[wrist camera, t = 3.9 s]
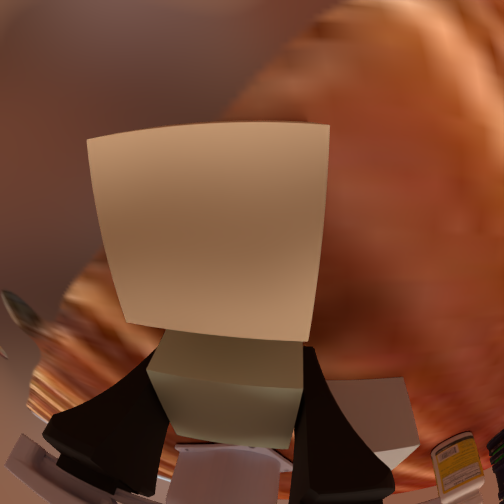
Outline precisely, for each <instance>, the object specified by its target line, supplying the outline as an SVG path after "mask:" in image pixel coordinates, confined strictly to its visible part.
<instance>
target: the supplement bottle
mask: <svg viewBox="0 0 504 504" xmlns="http://www.w3.org/2000/svg"><path fill="white" fill-rule="evenodd" d="M431 458H432V463H433V468H434V473H435V478H436V483H437V489H438V495H439V497H440V498H441V503H442V504H481V503H483V499H482V495H481V493H479V488H480V487H481V486H482V485H483V484H484V481H485V478H484V473H483V469H482V465H481V461H480V457H479V454H478V450H477V447H476V444H475V440H474V437H473V435H472V433H471V432H465V433H461V434H458V435H456V436H454V437H452V438H450V439H448V440H446V441H444V442H442V443H441V444H439V445H438V446H437V447H436V448H435V449H434V450H433V451H432V453H431Z"/></svg>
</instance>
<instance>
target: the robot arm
mask: <svg viewBox="0 0 504 504" xmlns="http://www.w3.org/2000/svg"><path fill="white" fill-rule="evenodd" d="M156 349H157V348H156ZM156 349H155V350H154V351H153V352H152V353H151V354H150V355H149V356H148V357H146V358H145V359H144V360H143V361H142V362H141V363H140V364H139V365H138V366H137V367H136V368H135V369H133V370H132V371H131V372H130V373H129V374H128V375H126V376H125V377H124V378H123V379H121V380H120V381H119V382H117V383H116V384H115V385H113V386H112V387H110V388H109V389H107V390H106V391H104V392H103V393H101V394H99V395H98V396H96V397H94V398H93V399H91V400H89V401H87V402H85V403H83V404H81V405H78V406H76V407H74V408H71V409H69V410H66V411H63V412H60V413H57V414H54V415H53V416H52V418H51V419H50V421H49V423H48V424H47V426H46V428H45V430H44V431H43V433H42V435H43V437H44V439H45V440H46V441H47V442H48V443H50V444H51V445H52V446H53V447H54V448H55V449H56V450H58V451H59V452H60V453H61V455H60V457H59V459H58V458H56V457H54V456H53V455H51V454H49V453H48V452H46V451H45V449H43V448H42V447H41V446H40V445H38V444H37V443H36V442H34V441H33V440H31V439H30V438H28V437H27V436H26V435H24V434H21V435H20V437H19V439H18V441H17V443H16V444H15V446H14V448H13V450H12V452H11V454H10V456H9V457H8V459H7V461H6V463H5V467H6V468H7V469H8V470H9V471H10V472H11V473H12V474H14V475H15V476H16V477H17V478H18V479H20V480H21V481H22V482H23V483H24V484H25V485H27V486H28V487H29V488H30V489H32V490H33V491H34V492H35V493H36V494H38V495H39V496H40V497H42V498H43V499H44V500H46V501H47V502H48V503H50V504H117V502H116V501H118V502H120V503H122V504H162V503H158V502H155V501H152V500H149V499H146V498H143V497H140V496H137V495H134V494H132V493H135V494H140V495H143V496H146V497H150V496H153V495H154V494H155V487H156V481H157V474H158V468H159V463H160V457H161V453H162V448H163V444H164V440H165V436H166V432H167V428H168V425H169V422H170V421H169V419H168V417H167V415H166V413H165V411H164V409H163V406H162V404H161V402H160V400H159V398H158V396H157V394H156V391H155V389H154V387H153V385H152V382H151V380H150V378H149V376H148V373H147V371H146V369H147V367H148V365H149V363H150V361H151V359H152V357H153V355H154V353H155V351H156ZM294 434H295V445H294V458H293V464H292V463H291V462H289V461H288V460H286V459H285V458H284V457H282V456H281V455H279V454H278V453H277V452H275V451H274V450H273V449H271V448H260V447H249V446H240V445H232V444H224V443H223V444H196V445H178V444H177V445H175V449H176V450H178V451H179V452H180V453H179V457H178V460H177V463H176V466H175V470H174V473H173V476H172V480H171V483H170V486H169V490H168V493H167V497H166V504H277V498H278V488H279V478H280V472H288V471H292V479H291V488H290V496H289V504H383V499H384V498H385V497H387V496H389V495H391V494H392V493H393V492H394V491H395V482H394V478H393V475H392V472H391V469H390V468H389V467H388V466H387V465H386V464H385V463H384V462H383V461H381V460H380V459H379V458H378V457H377V456H376V455H375V454H374V452H373V451H372V450H371V449H370V448H369V447H368V446H367V445H366V444H365V442H364V441H363V440H362V439H361V437H360V436H359V435H358V434H357V433H356V431H355V430H354V429H353V427H352V426H351V424H350V423H349V422H348V420H347V419H346V417H345V415H344V414H343V412H342V411H341V409H340V407H339V406H338V404H337V402H336V400H335V398H334V396H333V395H332V393H331V391H330V389H329V386H328V384H327V382H326V380H325V378H324V375H323V373H322V370H321V368H320V365H319V362H318V359H317V356H316V353H315V349H314V348H313V347H308V346H303V392H302V396H301V400H300V405H299V409H298V413H297V417H296V421H295V425H294ZM131 492H132V493H131ZM418 504H441V498H440V497H438V498H435V499H432V500H428V501H425V502H422V503H418Z"/></svg>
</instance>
